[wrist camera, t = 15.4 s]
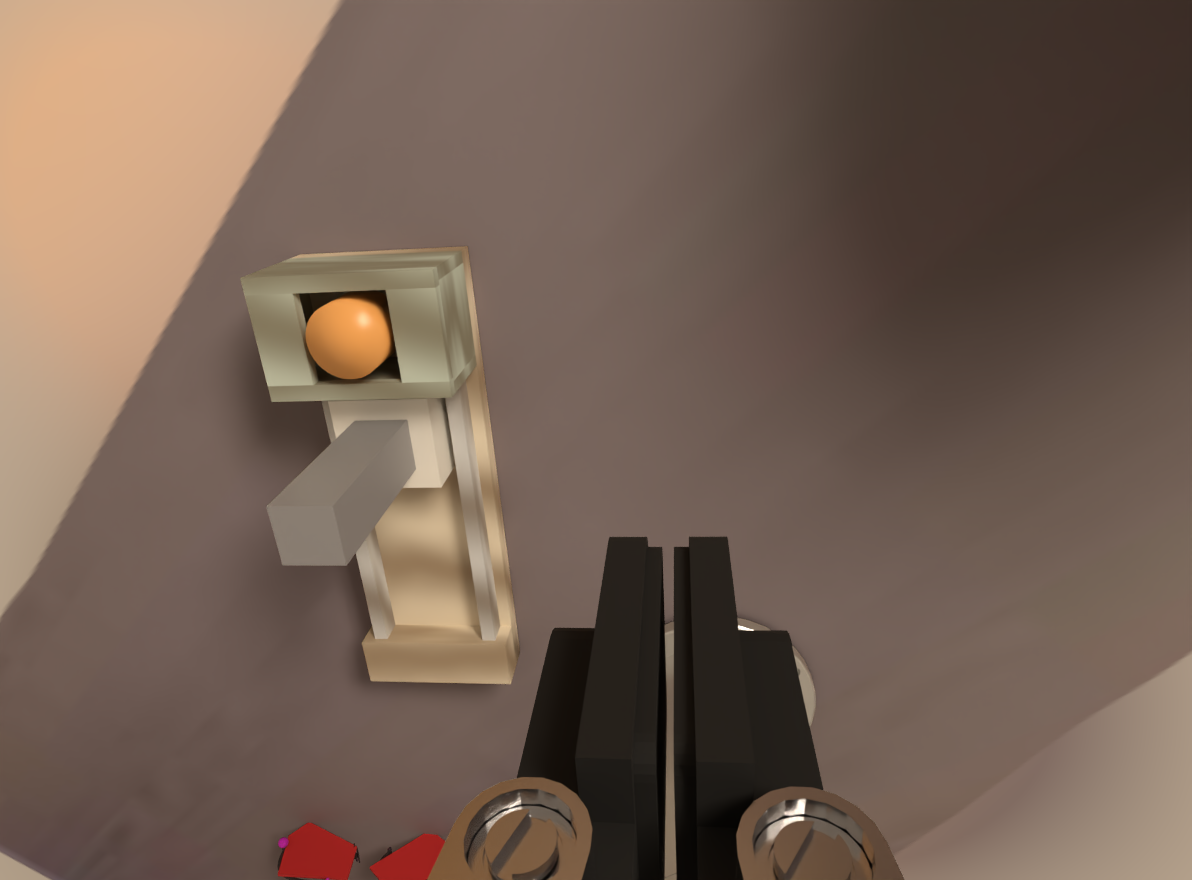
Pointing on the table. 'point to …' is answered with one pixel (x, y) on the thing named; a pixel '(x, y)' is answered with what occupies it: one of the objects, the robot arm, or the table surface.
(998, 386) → the table surface
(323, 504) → the carriage
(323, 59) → the table surface
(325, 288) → the board
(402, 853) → the glasses
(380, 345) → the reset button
